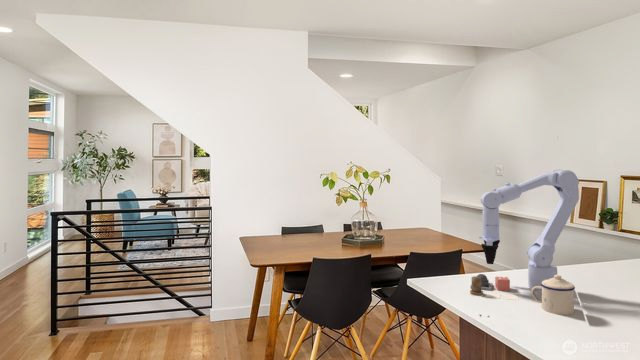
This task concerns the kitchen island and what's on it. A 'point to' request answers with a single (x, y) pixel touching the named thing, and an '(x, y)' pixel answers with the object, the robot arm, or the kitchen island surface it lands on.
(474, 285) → the flanged wooden peg
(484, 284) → the dark gray round knob
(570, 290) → the teacup with lid
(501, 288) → the die
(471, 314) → the kitchen island surface
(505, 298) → the board
